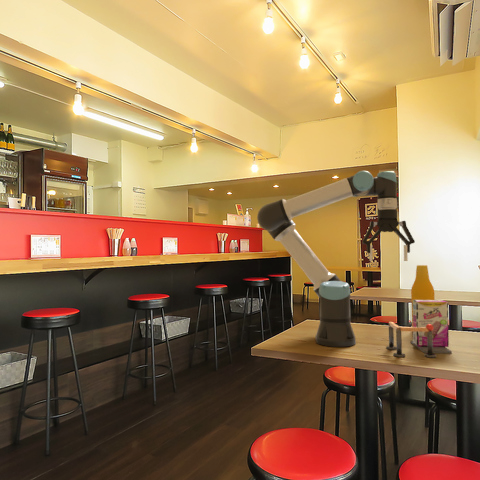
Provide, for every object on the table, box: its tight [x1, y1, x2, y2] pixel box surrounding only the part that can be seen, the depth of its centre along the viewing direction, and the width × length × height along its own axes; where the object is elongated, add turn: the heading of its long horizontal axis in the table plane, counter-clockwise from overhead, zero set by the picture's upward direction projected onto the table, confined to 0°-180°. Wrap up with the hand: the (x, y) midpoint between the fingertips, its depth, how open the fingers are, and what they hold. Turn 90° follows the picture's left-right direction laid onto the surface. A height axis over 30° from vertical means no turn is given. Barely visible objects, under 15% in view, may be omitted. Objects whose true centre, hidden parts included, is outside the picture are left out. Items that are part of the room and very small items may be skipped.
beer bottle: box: [410, 264, 436, 327], centre depth 170 cm, size 9×9×29 cm
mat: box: [410, 340, 453, 354], centre depth 142 cm, size 9×15×1 cm, turn 173°
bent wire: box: [385, 321, 437, 359], centre depth 137 cm, size 14×14×11 cm
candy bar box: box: [412, 299, 450, 348], centre depth 143 cm, size 11×5×16 cm, turn 85°
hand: (388, 261), depth 161 cm, fingers open, 13 cm apart
